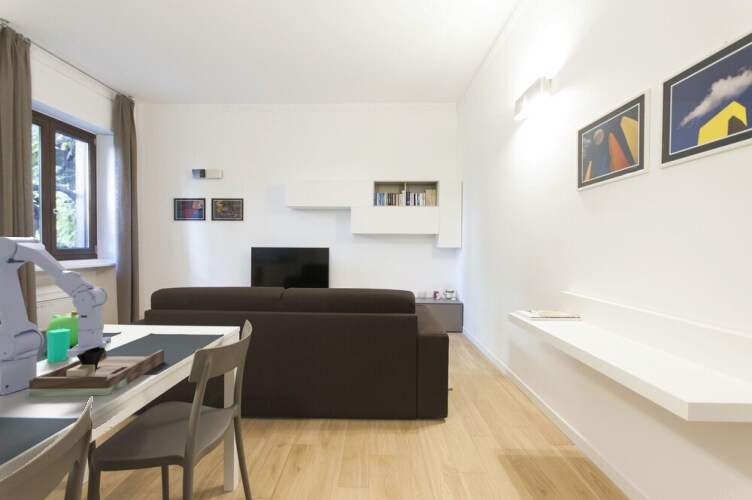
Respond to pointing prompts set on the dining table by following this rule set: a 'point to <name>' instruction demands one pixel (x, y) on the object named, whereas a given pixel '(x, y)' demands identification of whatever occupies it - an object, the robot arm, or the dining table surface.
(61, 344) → the candle
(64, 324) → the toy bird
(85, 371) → the beech block
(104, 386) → the box
